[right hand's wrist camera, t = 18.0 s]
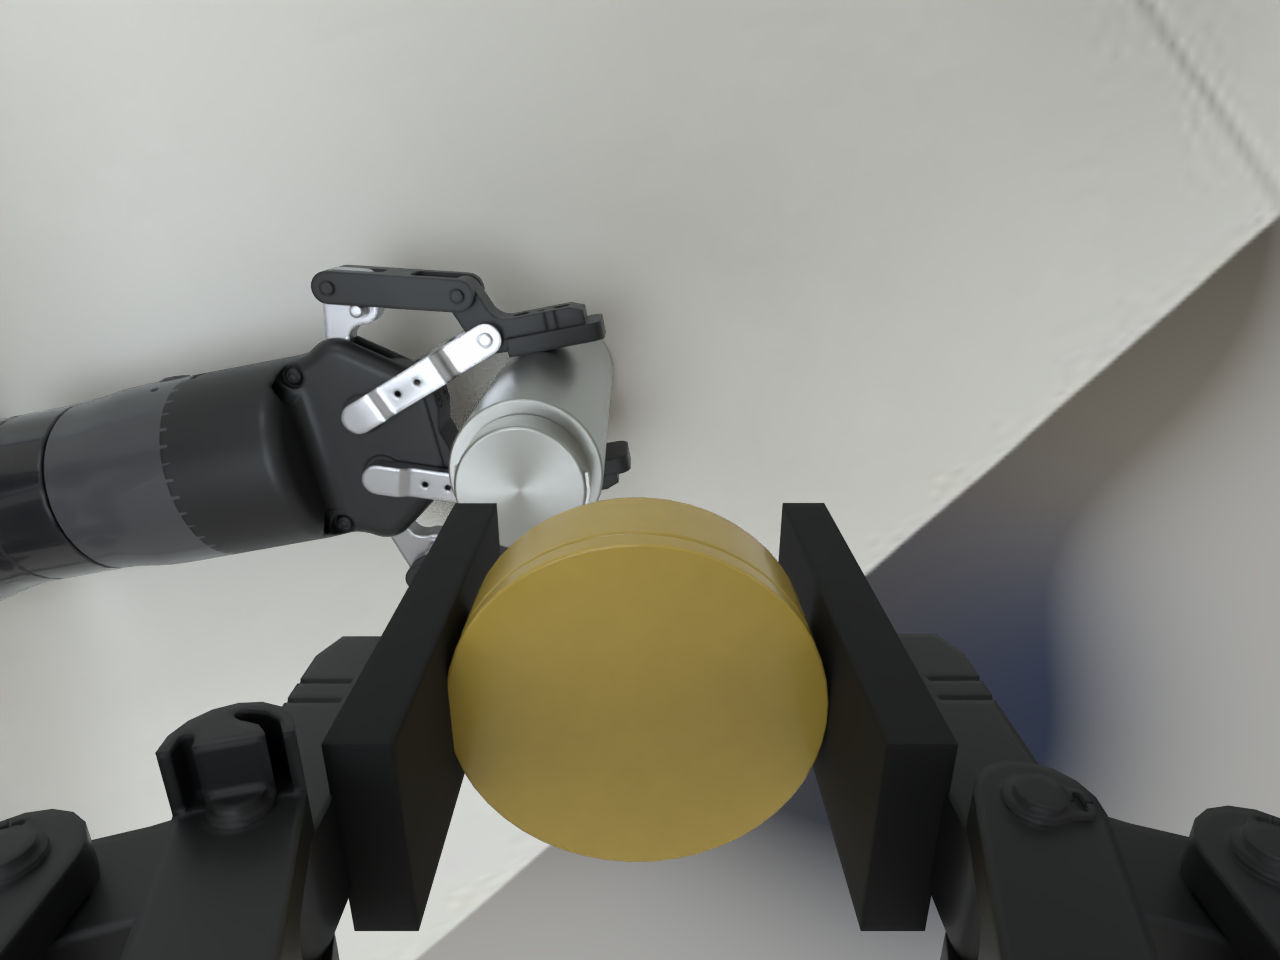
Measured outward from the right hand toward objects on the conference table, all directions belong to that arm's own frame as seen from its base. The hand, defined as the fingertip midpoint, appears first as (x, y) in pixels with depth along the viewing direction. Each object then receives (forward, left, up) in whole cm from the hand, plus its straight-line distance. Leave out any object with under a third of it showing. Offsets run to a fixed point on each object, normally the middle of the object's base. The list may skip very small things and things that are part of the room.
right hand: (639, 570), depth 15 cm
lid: (0, 0, +4) cm, 4 cm away
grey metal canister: (+3, +1, -24) cm, 25 cm away
